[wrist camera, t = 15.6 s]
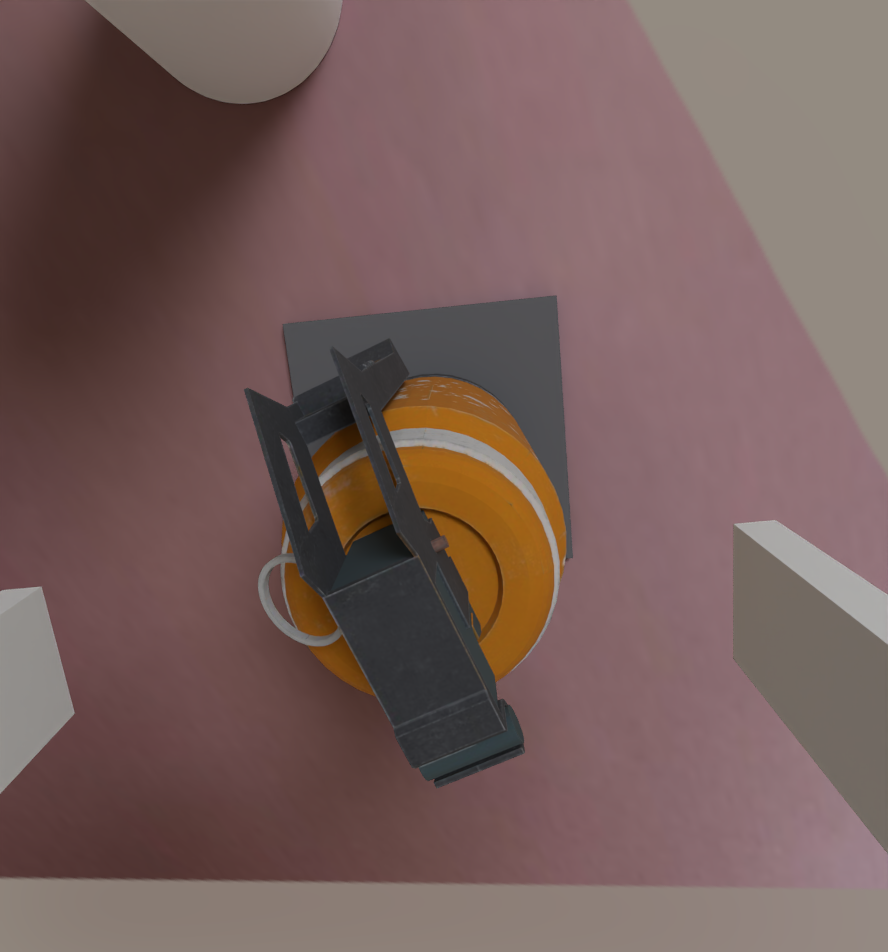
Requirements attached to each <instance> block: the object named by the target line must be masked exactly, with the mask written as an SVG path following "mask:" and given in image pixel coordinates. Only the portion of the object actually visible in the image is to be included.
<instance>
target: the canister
mask: <svg viewBox="0 0 888 952" xmlns="http://www.w3.org/2000/svg"><path fill="white" fill-rule="evenodd" d="M329 350H330V353H331V355H332V358H333V361H334V364H335V366H336V369H337V372H338V375H339V376H337V377H335V378H333V379H330V380H328V381H326V382H324V383H322V384H320V385H318V386H316V387H314V388H312V389H310V390H308V391H306V392H304V393H302V394H300V395H298V396H296V397H294V398H293V400H292V401H293V404H292V405H290V406H288V407H286V406H284V405H282V404H280V403H278V402H275V401H273V400H271V399H269V398H267V397H265V396H263V395H261V394H259V393H257V392H255V391H253V390H251V389H249V388H246V389H244V391H245V395H246V398H247V401H248V405H249V408H250V411H251V415H252V418H253V421H254V425H255V428H256V431H257V434H258V438H259V441H260V444H261V448H262V451H263V454H264V458H265V461H266V464H267V468H268V471H269V474H270V478H271V481H272V484H273V488H274V491H275V494H276V497H277V501H278V504H279V507H280V511H281V514H282V517H283V527H282V552H281V555H279V556H277V557H275V558H274V559H272V560H271V561H269V562H268V563H267V564H266V565H265V566H264V567H263V569H262V571H261V572H260V576H259V580H258V591H259V596H260V600H261V602H262V605H263V607H264V609H265V611H266V613H267V614H268V616H269V618H270V619H271V620H272V621H273V623H274V624H275V625H276V626H277V627H278V628H279V629H280V630H281V631H282V632H284V633H285V634H286V635H287V636H289V637H291V638H292V639H294V640H296V641H298V642H300V643H303V644H306V645H307V647H308V648H309V649H310V650H311V652H312V653H313V654H314V655H315V656H316V657H317V658H318V659H319V661H320V662H321V663H322V664H323V665H324V666H325V667H326V668H327V669H329V670H330V671H331V672H332V673H334V674H335V675H336V676H337V677H338V678H340V679H341V680H343V681H344V682H346V683H348V684H349V685H351V686H353V687H355V688H356V689H358V690H360V691H363V692H365V693H368V694H370V695H373V696H375V697H377V699H378V701H379V703H380V704H381V706H382V708H383V710H384V712H385V714H386V715H387V717H388V719H389V721H390V723H391V725H392V726H393V728H394V733H395V737H396V740H397V741H398V743H399V745H400V747H401V749H402V750H403V752H404V754H405V756H406V758H407V760H408V761H409V763H410V765H411V767H412V768H418V767H419V769H420V771H421V773H422V775H423V777H424V778H425V779H426V780H427V781H430V780H432V779H435V781H434V784H435V786H436V788H439V787H442V786H444V785H447V784H449V783H452V782H454V781H457V780H459V779H462V778H464V777H466V776H469V775H471V774H474V773H476V772H479V771H481V770H484V769H486V768H489V767H491V766H494V765H496V764H499V763H501V762H504V761H506V760H509V759H511V758H514V757H516V756H519V755H521V754H524V753H525V750H524V745H523V743H524V737H523V733H522V730H521V727H520V724H519V722H518V719H517V717H516V715H515V713H514V711H513V709H512V707H511V706H510V705H508V704H507V703H506V701H505V700H504V699H500V700H498V701H497V692H496V682H497V681H498V680H500V679H501V678H503V677H504V676H505V675H507V674H508V673H509V672H511V671H512V670H514V669H515V668H516V667H517V666H518V665H519V664H520V663H521V662H522V661H523V660H524V659H525V658H526V657H527V656H528V655H529V654H530V652H531V651H532V650H533V648H534V647H535V646H536V644H537V643H538V642H539V640H540V639H541V637H542V635H543V633H544V631H545V630H546V628H547V626H548V624H549V622H550V620H551V617H552V614H553V611H554V608H555V605H556V602H557V595H558V589H559V584H560V581H561V578H562V575H563V571H564V564H565V558H566V527H565V522H564V516H563V510H562V507H561V504H560V502H559V499H558V496H557V493H556V490H555V488H554V486H553V484H552V483H551V481H550V479H549V477H548V475H547V474H546V472H545V470H544V468H543V467H542V465H541V463H540V461H539V460H538V458H537V456H536V455H535V453H534V451H533V449H532V448H531V446H530V444H529V443H528V441H527V439H526V438H525V436H524V434H523V432H522V431H521V429H520V427H519V426H518V424H517V422H516V420H515V419H514V417H513V415H512V414H511V413H510V411H509V410H508V409H507V408H506V406H505V405H504V404H503V403H502V402H501V401H500V400H499V399H498V398H497V397H496V396H495V395H494V394H492V393H491V392H489V391H488V390H486V389H485V388H483V387H482V386H480V385H478V384H476V383H474V382H472V381H470V380H467V379H464V378H461V377H457V376H453V375H446V374H421V375H416V376H412V377H408V376H409V375H410V373H409V372H408V370H407V368H406V366H405V365H404V363H403V361H402V359H401V357H400V356H399V354H398V352H397V350H396V348H395V347H394V345H393V343H392V341H391V339H390V338H388V339H386V340H384V341H382V342H380V343H378V344H376V345H374V346H372V347H370V348H368V349H366V350H364V351H362V352H359V353H357V354H355V355H353V356H351V357H349V358H346V357H345V356H343V355H342V354H341V353H340V352H339V351H338V350H337V349H335V348H334V347H333V346H332V347H330V348H329ZM333 433H334V434H333ZM331 434H333V435H332V436H331V437H330V438H329V439H328V440H327V441H326V442H325V443H324V444H323V445H322V446H321V447H320V448H319V449H318V451H317V452H316V453H315V454H314V455H313V456H312V457H311V455H310V452H309V450H308V447H307V446H308V445H310V444H312V443H314V442H316V441H318V440H320V439H322V438H325V437H327V436H329V435H331ZM280 438H281V439H283V440H284V441H285V442H286V443H287V445H288V447H289V449H290V452H291V455H292V458H293V461H294V463H295V466H296V469H297V472H298V474H299V476H298V478H297V480H296V481H295V484H294V482H293V478H292V475H291V472H290V468H289V465H288V462H287V459H286V455H285V452H284V449H283V445H282V442H281V439H280ZM278 564H281V570H280V573H281V582H282V591H283V595H284V599H285V602H286V606H287V610H288V613H289V615H290V617H291V619H292V621H293V623H294V626H295V628H294V627H293V626H291V625H290V624H289V623H288V622H287V621H286V620H285V619H284V618H283V617H282V616H281V615H280V613H279V612H278V611H277V609H276V608H275V606H274V604H273V602H272V599H271V597H270V593H269V586H268V582H269V576H270V573H271V571H272V569H273V568H274V567H275V566H276V565H278Z"/></svg>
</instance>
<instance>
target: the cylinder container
mask: <svg viewBox="0 0 888 952" xmlns="http://www.w3.org/2000/svg"><path fill="white" fill-rule="evenodd" d="M85 1H86V2H87V3H89V4H90V5H91V6H92V7H93V8H94V9H95V10H97V11H98V12H99V13H100V14H101V15H102V16H104V17H105V18H106V19H107V20H108V21H109V22H111V23H112V24H113V25H114V26H115V27H116V28H118V29H119V30H120V31H121V32H122V33H123V34H125V35H126V36H127V37H128V38H129V39H130V40H132V41H133V42H134V43H135V44H136V45H137V46H139V47H140V48H141V49H142V50H143V51H144V52H145V53H147V54H148V55H149V56H150V57H151V58H152V59H154V60H155V61H156V62H157V63H158V64H159V65H161V66H162V67H163V68H164V69H165V70H166V71H168V72H169V73H170V74H171V75H172V76H173V77H175V78H176V79H177V80H178V81H180V82H181V83H182V84H183V85H185V86H186V87H188V88H189V89H191V90H193V91H195V92H197V93H199V94H201V95H203V96H205V97H208V98H211V99H214V100H218V101H221V102H226V103H236V104H250V103H257V102H263V101H267V100H270V99H273V98H276V97H278V96H281V95H283V94H285V93H287V92H288V91H290V90H292V89H293V88H295V87H296V86H298V85H299V84H300V83H302V82H303V81H304V80H305V79H306V78H307V77H308V76H309V75H310V74H311V73H312V72H313V71H314V70H315V69H316V68H317V66H318V65H319V63H320V62H321V61H322V59H323V58H324V56H325V54H326V53H327V51H328V49H329V47H330V45H331V43H332V40H333V38H334V36H335V33H336V30H337V27H338V23H339V19H340V14H341V9H342V0H85Z"/></svg>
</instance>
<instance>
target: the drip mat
mask: <svg viewBox="0 0 888 952" xmlns="http://www.w3.org/2000/svg"><path fill="white" fill-rule="evenodd" d="M283 329H284V336H285V342H286V349H287V356H288V363H289V369H290V376H291V383H292V389H293V396H294V397H296V396H298V395H300V394H302V393H304V392H306V391H308V390H310V389H312V388H314V387H316V386H318V385H320V384H322V383H324V382H326V381H328V380H330V379H333V378H335V377H337V376H339V375H338V372H337V369H336V366H335V364H334V361H333V358H332V355H331V353H330V350H329V348H330V347H332V346H333V347H334V348H335V349H337V350H338V351H339V352H340V353H341V354H342V355H343V356H345V357H346V358H349V357H351V356H353V355H355V354H357V353H359V352H362V351H364V350H366V349H368V348H370V347H372V346H374V345H376V344H378V343H380V342H382V341H384V340H386V339H388V338H390V339H391V341H392V343H393V345H394V347H395V348H396V350H397V352H398V354H399V356H400V357H401V359H402V361H403V363H404V365H405V366H406V368H407V370H408V372H409V373H410V375H409V376H408V377H412V376H416V375H421V374H446V375H453V376H457V377H461V378H464V379H467V380H470V381H472V382H474V383H476V384H478V385H480V386H482V387H483V388H485V389H486V390H488V391H489V392H491V393H492V394H494V395H495V396H496V397H497V398H498V399H499V400H500V401H501V402H502V403H503V404H504V405H505V406H506V408H507V409H508V410H509V411H510V413H511V414H512V415H513V417H514V419H515V420H516V422H517V424H518V426H519V427H520V429H521V431H522V432H523V434H524V436H525V438H526V439H527V441H528V443H529V444H530V446H531V448H532V449H533V451H534V453H535V455H536V456H537V458H538V460H539V461H540V463H541V465H542V467H543V468H544V470H545V472H546V474H547V475H548V477H549V479H550V481H551V483H552V484H553V486H554V488H555V490H556V493H557V496H558V499H559V502H560V504H561V507H562V510H563V516H564V522H565V527H566V558H573V553H572V537H571V521H570V505H569V489H568V472H567V456H566V440H565V424H564V408H563V392H562V376H561V360H560V344H559V328H558V311H557V296H547V297H538V298H528V299H519V300H509V301H499V302H490V303H480V304H471V305H461V306H451V307H442V308H432V309H423V310H413V311H403V312H394V313H384V314H375V315H365V316H355V317H346V318H336V319H327V320H317V321H307V322H298V323H288V324H283ZM333 434H334V433H333ZM333 434H331V435H329V436H327V437H325V438H322V439H320V440H318V441H316V442H314V443H312V444H310V445H308V446H307V447H308V450H309V452H310V455H311V457H312V456H313V455H314V454H315V453H316V452H317V451H318V449H319V448H320V447H321V446H322V445H323V444H324V443H325V442H326V441H327V440H328V439H329V438H330V437H331V436H332V435H333Z"/></svg>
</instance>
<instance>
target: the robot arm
mask: <svg viewBox="0 0 888 952" xmlns="http://www.w3.org/2000/svg"><path fill="white" fill-rule="evenodd" d="M733 659H734V660H735V661H736V663H737V664H738V665H739V666H740V668H741V669H742V670H743V671H744V673H745V674H746V675H747V677H748V678H749V679H750V680H751V682H752V683H753V684H754V685H755V687H756V688H757V689H758V690H759V692H760V693H761V694H762V695H763V697H764V698H765V699H766V701H767V702H768V703H769V704H770V706H771V707H772V708H773V709H774V711H775V712H776V713H777V714H778V716H779V717H780V718H781V720H782V721H783V722H784V723H785V725H786V726H787V727H788V728H789V730H790V731H791V732H792V733H793V735H794V736H795V737H796V738H797V740H798V741H799V742H800V744H801V745H802V746H803V747H804V749H805V750H806V751H807V752H808V754H809V755H810V756H811V757H812V759H813V760H814V761H815V762H816V764H817V765H818V766H819V768H820V769H821V770H822V771H823V773H824V774H825V775H826V776H827V778H828V779H829V780H830V781H831V783H832V784H833V785H834V786H835V788H836V789H837V790H838V792H839V793H840V794H841V795H842V797H843V798H844V799H845V800H846V802H847V803H848V804H849V805H850V807H851V808H852V809H853V810H854V812H855V813H856V814H857V816H858V817H859V818H860V819H861V821H862V822H863V823H864V824H865V826H866V827H867V828H868V829H869V831H870V832H871V833H872V834H873V836H874V837H875V838H876V840H877V841H878V842H879V843H880V845H881V846H882V847H883V848H884V850H885V851H886V852H887V853H888V595H887V594H886V593H884V592H883V591H881V590H880V589H878V588H877V587H875V586H874V585H872V584H871V583H869V582H868V581H866V580H865V579H863V578H862V577H860V576H859V575H857V574H856V573H854V572H853V571H851V570H850V569H848V568H847V567H845V566H844V565H842V564H841V563H839V562H838V561H836V560H835V559H833V558H832V557H830V556H829V555H827V554H826V553H824V552H823V551H821V550H820V549H818V548H817V547H815V546H814V545H812V544H811V543H809V542H808V541H806V540H805V539H803V538H802V537H800V536H799V535H797V534H796V533H794V532H793V531H791V530H790V529H788V528H787V527H785V526H784V525H782V524H781V523H779V522H778V521H776V520H772V521H761V522H750V523H739V524H734V549H733ZM74 714H75V713H74V709H73V705H72V701H71V697H70V694H69V690H68V686H67V682H66V678H65V674H64V671H63V667H62V663H61V659H60V655H59V652H58V648H57V644H56V640H55V636H54V633H53V629H52V625H51V621H50V617H49V613H48V610H47V606H46V602H45V598H44V594H43V591H42V587H32V588H21V589H10V590H2V591H1V592H0V793H1V792H2V791H3V790H4V789H5V788H6V787H7V786H8V785H9V784H10V783H11V782H12V780H13V779H14V778H15V777H16V776H17V775H18V774H19V773H20V772H21V771H22V770H23V769H24V768H25V766H26V765H27V764H28V763H29V762H30V761H31V760H32V759H33V758H34V757H35V756H36V755H37V754H38V752H39V751H40V750H41V749H42V748H43V747H44V746H45V745H46V744H47V743H48V742H49V741H50V740H51V738H52V737H53V736H54V735H55V734H56V733H57V732H58V731H59V730H60V729H61V728H62V727H63V726H64V724H65V723H66V722H67V721H68V720H69V719H70V718H71V717H72V716H73V715H74Z"/></svg>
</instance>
